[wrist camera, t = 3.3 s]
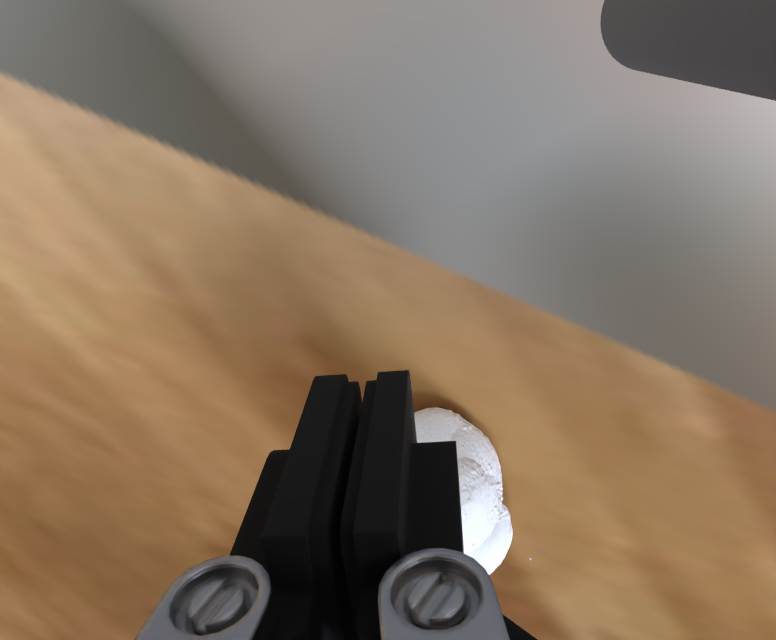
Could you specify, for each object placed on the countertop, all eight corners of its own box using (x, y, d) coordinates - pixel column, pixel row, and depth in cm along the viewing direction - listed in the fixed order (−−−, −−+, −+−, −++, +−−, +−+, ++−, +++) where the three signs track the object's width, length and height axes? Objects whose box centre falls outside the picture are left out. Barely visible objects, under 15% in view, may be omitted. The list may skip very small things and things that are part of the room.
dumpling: (326, 427, 23) (316, 475, 19) (461, 371, 22) (479, 407, 18) (403, 588, 24) (409, 664, 20) (531, 537, 24) (562, 604, 20)
